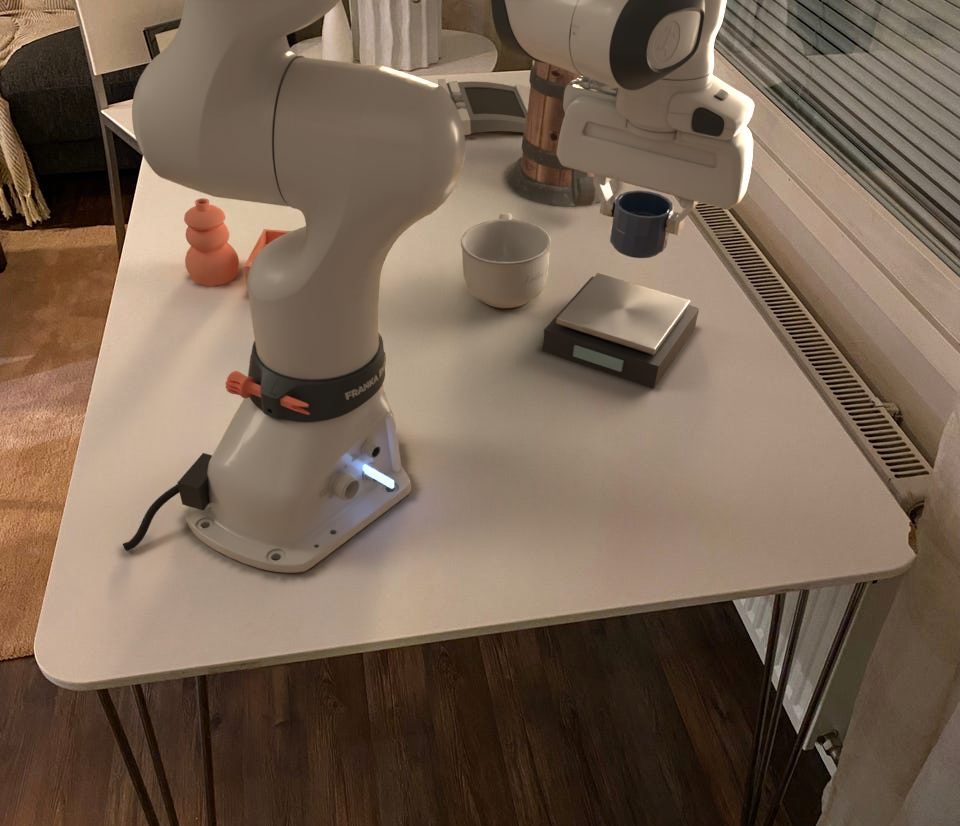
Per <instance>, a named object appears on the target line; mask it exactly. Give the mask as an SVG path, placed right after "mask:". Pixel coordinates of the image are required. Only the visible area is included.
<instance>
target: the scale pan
mask: <svg viewBox="0 0 960 826" xmlns="http://www.w3.org/2000/svg"><path fill="white" fill-rule="evenodd" d="M593 277H594V278H593V279H592V280H591V281H590V282H589V283H588V284H587V285H586V286H585V288H584V289H583V290H582V291H581V292H580V293H579V294H578V295H577V296H576V298H575V299H574V300H573V301H572V302H571V303H570V304H569V305H568V307H567V308H566V309H565V310H564V311H563V312H562V313H561V314H560V315H559V317H558V318H557V322H556V324H558V325H561V326H565V327H568V328H571V329H574V330H577V331H580V332H583V333H587V334H590V335H593V336H596V337H599V338H602V339H605V340H608V341H612V342H615V343H618V344H621V345H624V346H627V347H630V348H633V349H637V350H640V351H643V352H646V353H649V354H652V355H654V354H655V353H656V351H657V350H658V349H659V347H660V346H661V344H662V343H663V342H664V340H665V339H666V337H667V336H668V335H669V333H670V332H671V330H672V329H673V328H674V326H675V325H676V324H677V322H678V321H679V319H680V318H681V317H682V315H683V314H684V312H685V311H686V310H687V308H688V307H689V305H690V304H691V300H690V299H688V298H685V297H681V296H677V295H674V294H671V293H668V292H663V291H661V290H657V289H653V288H650V287H648V286H644V285H640V284H637V283H634V282H630V281H627V280H624V279H619V278H616V277H613V276H609V275H607V274H603V273H600V272H597V273H596V274H595V275H594V276H593ZM690 306H691V305H690Z"/></svg>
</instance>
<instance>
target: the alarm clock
mask: <svg viewBox="0 0 960 826" xmlns="http://www.w3.org/2000/svg"><path fill="white" fill-rule="evenodd" d="M437 84H438V85H441V86H442V87H443V88H444V89H445V90H446V91H447V93H448V94H449V96H450V97H451V99H452V100H453V102H454V104H455V106H456V108H457V110H458V112H459V115H460V118H461V121H462V125H463V129H464V136H469V135H471V134H475V133H484V132H513V133H514V132H516V133H517V132H518V133H522V134H523V133H524V132H525V129H526V121H527V112H528V103H529V94H530V86H526V85H521V84H517V83H515V84H514V85H509V84H504V83H498V82H497V83H496V82H491V81H490V82H489V81H474V80H473V81H471V80H470V81H458V80H451V81H448V82H447V81H446V78H440V79H439V78H438V79H437Z"/></svg>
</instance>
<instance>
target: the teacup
mask: <svg viewBox="0 0 960 826" xmlns="http://www.w3.org/2000/svg"><path fill="white" fill-rule="evenodd" d="M551 239H552V238H551V236H550V235H549V233H548V232H547V230H546V229H544V228H543V227H541V226H539V225H538V224H536V223H533V222H530V221H525V220H523V219H522V220H521V219H513V216H512V213H510V212H501V213H499V216H498V219H491V220H487V221H482V222H479V223H477V224H475V225H473V226H471V227H470V228H468V229H467V230H466V231H465V232H464V233H463V234H462V236H461V238H460V246H461V250H462V271H463V278H464V282H465V285H466V288H467V290H468V291H469V292H470V293H471V295H472V296H474V297H475V298H476V299H477V300H479V301H481V302H482V303H484V304H486V305H488V306H490V307H493V308H496V309H497V308H498V309H514V308H519V307H522V306H523V305H525V304H527V303H529V302H531V301H532V300H534V299H535V298H537V297H538V295H540V294H541V293H542V291H543V290H544V289H545V286H546V283H547V280H548V276H549V275H548V274H549V265H550V248H551V245H552V240H551Z"/></svg>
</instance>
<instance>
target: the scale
mask: <svg viewBox="0 0 960 826" xmlns="http://www.w3.org/2000/svg"><path fill="white" fill-rule="evenodd" d="M593 278H594V276H591V277H590V278H589V279H588V280H587V281H586V282H585V283H584V284H583V286H582V287H581V288H580V289H579V290H578V291H577V292H576V294H575V295H574V296H573V297H572V298H571V299H570V300H569V301H568V302H567V303H566V304H565V306H564V307H563V308H562V309H561V310H560V312H559V313H558V314H557V315H556V316H555V317H554V318H553V319H552V320H551V321H550V322H549V324H548V325H546V327H545V328H544V329H543V337H542V347H541V351H542V352H544V353H546V354H550V355H553V356H556V357H558V358H562V359H565V360H568V361H571V362H573V363H577V364H580V365H583V366H586V367H589V368H592V369H595V370H598V371H601V372H604V373H608V374H610V375H613V376H617V377H619V378H622V379H625V380H628V381H632V382H634V383H638V384H641V385H643V386H645V387H646V386H647V387H650V388H653V389H655V388H656V386H657V385H658V383H659V382H660V380H661V379H662V377H663V376H664V374H665V373H666V372H667V370H668V369H669V367H670V366H671V364H672V363H673V361H674V360H675V358H676V357H677V355H678V354H679V353H680V351H681V350H682V348H683V347H684V346H685V344H686V343H687V341H688V340H689V338H690V337H691V335H692V334H693V332H694V330H695V329H696V324H697V320H698V315H699V311H700V308H699V307H696V306H693V305H689V307H688V308H687V310H686V311H685V312H684V314H683V315H682V317H681V318H680V319H679V321H678V322H677V324H676V325H675V326H674V328H673V329H672V330H671V332H670V333H669V335H668V336H667V337H666V339H665V340H664V342H663V343H662V344H661V346H660V347H659V349H658V350H657V351H656V353H655V354H654V355H652V354H649V353H646V352H643V351H640V350H637V349H633V348H630V347H627V346H624V345H621V344H618V343H615V342H612V341H608V340H605V339H602V338H599V337H596V336H593V335H590V334H587V333H583V332H580V331H577V330H574V329H571V328H568V327H565V326H561V325H558V324H556V322H557V318H558V317H559V315H560V314H561V313H562V312H563V311H564V310H565V309H566V308H567V307H568V305H569V304H570V303H571V302H572V301H573V300H574V299H575V298H576V296H577V295H578V294H579V293H580V292H581V291H582V290H583V289H584V288H585V286H586V285H587V284H588V283H589V282H590V281H591V280H592V279H593Z"/></svg>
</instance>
